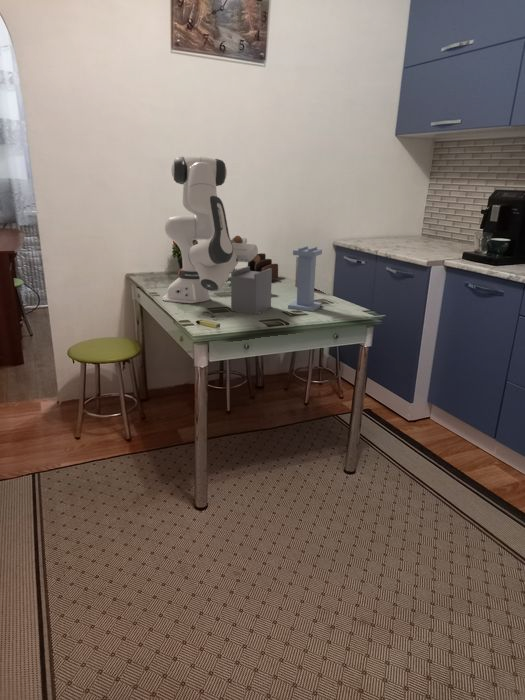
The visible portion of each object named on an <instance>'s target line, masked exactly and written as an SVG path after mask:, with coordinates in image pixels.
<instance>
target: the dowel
mask: <svg viewBox="0 0 525 700" xmlns="http://www.w3.org/2000/svg"><path fill="white" fill-rule="evenodd" d="M233 238H234V242H235V243H242V239H243V238H242V237H241V236H240V235H235V236H234V237H233ZM246 244H248V243H246ZM253 260H254V261H255V262H259V261H260V257H259V256H258V255H256V256H255V257H254V258H253Z"/></svg>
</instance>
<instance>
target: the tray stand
mask: <svg viewBox="0 0 525 700" xmlns="http://www.w3.org/2000/svg"><path fill="white" fill-rule="evenodd" d="M230 274H231V275H230V277H231V282H230V283H231V285H230V286H231V287H230V291H231V292H230V299H231V301H230V304H231V305H230V306H231V307H230V309H231V312H233V311H237V312H236V313H241V312H244V313H243V314H248V313H251V314H250V315H255V314H256V315H257V313H258V314H260V313H261V312H264V311H265V309H266V310H268V309H269V308H271V307H272V284H273V283H272V269H271V268H270V269H267V270H264V271H261V272H256V271H250V266H248V265H247V266H245V267H241V268H238V269H237V270H235V271H232V273H230ZM267 308H268V309H267ZM263 310H264V311H263ZM259 312H260V313H259Z"/></svg>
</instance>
